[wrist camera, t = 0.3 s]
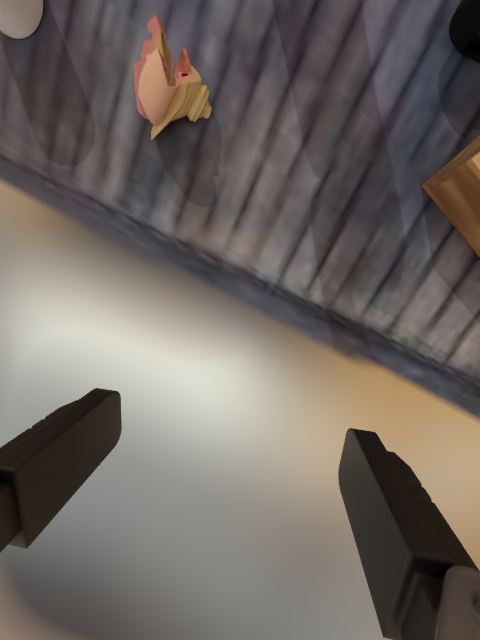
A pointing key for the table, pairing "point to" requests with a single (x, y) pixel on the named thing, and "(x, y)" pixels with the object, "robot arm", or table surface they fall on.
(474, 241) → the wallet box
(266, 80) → the table surface
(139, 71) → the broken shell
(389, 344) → the table surface
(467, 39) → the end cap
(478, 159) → the box lid
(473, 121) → the table surface
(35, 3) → the candle holder
